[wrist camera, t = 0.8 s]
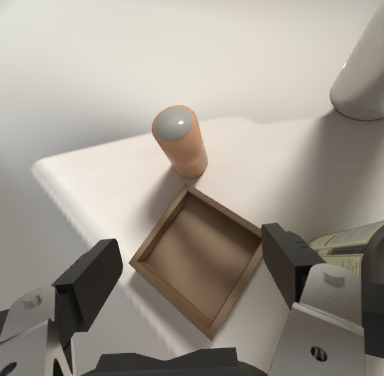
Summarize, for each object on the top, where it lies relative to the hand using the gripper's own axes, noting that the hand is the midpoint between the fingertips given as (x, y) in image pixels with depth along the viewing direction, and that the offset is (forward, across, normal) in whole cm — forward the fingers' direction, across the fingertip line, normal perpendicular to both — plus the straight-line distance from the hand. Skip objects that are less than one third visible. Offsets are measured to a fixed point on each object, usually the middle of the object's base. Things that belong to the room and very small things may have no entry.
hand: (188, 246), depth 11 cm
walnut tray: (+15, 0, +10) cm, 17 cm away
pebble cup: (+23, +1, -2) cm, 23 cm away
